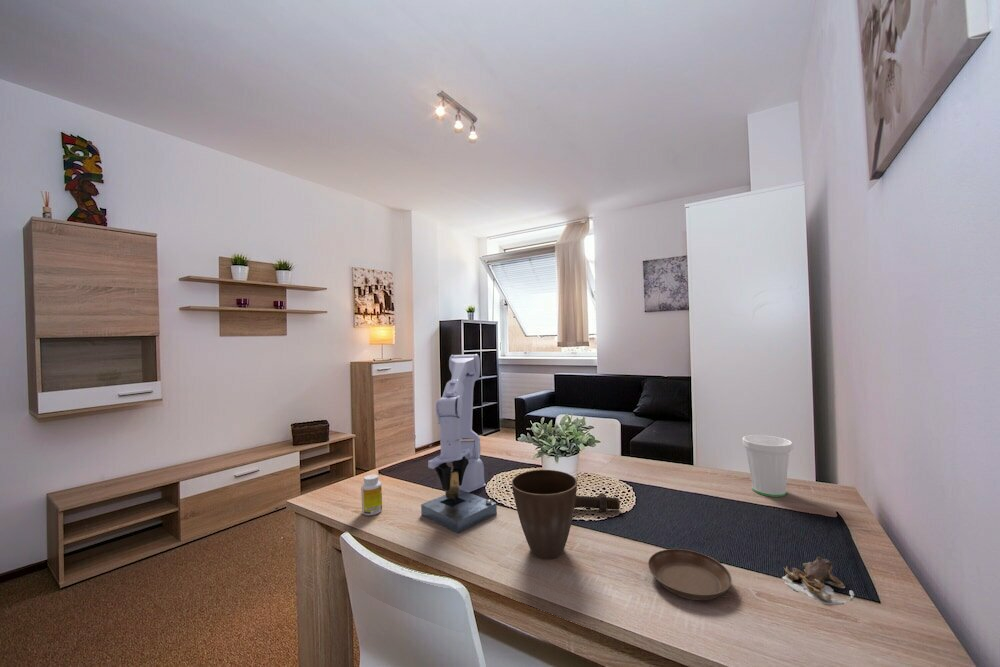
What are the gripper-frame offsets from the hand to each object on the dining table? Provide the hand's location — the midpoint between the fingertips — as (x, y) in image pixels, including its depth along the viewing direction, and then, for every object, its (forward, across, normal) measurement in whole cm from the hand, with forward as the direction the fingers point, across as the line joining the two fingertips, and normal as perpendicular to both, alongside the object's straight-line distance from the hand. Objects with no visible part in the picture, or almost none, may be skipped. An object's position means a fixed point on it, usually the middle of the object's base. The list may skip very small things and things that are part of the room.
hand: (452, 487), depth 113 cm
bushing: (+2, 0, 0) cm, 2 cm away
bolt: (+8, +26, -30) cm, 40 cm away
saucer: (+8, +10, -60) cm, 62 cm away
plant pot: (+7, +1, -32) cm, 33 cm away
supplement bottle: (+7, -15, +18) cm, 25 cm away
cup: (+7, +69, -64) cm, 94 cm away
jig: (+7, 0, -2) cm, 8 cm away
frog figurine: (+8, +25, -78) cm, 83 cm away
